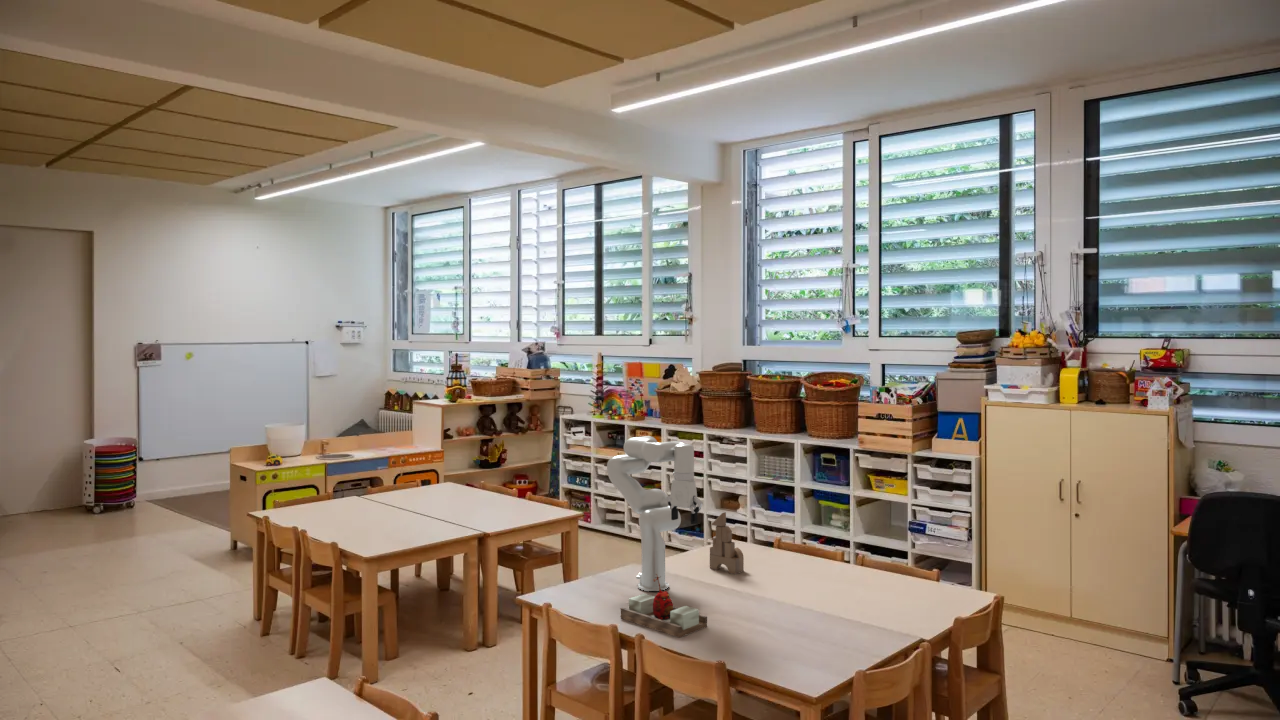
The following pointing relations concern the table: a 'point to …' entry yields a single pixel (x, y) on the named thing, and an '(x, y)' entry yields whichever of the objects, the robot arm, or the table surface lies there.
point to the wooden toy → (725, 548)
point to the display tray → (676, 625)
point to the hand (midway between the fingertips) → (684, 521)
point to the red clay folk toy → (662, 604)
